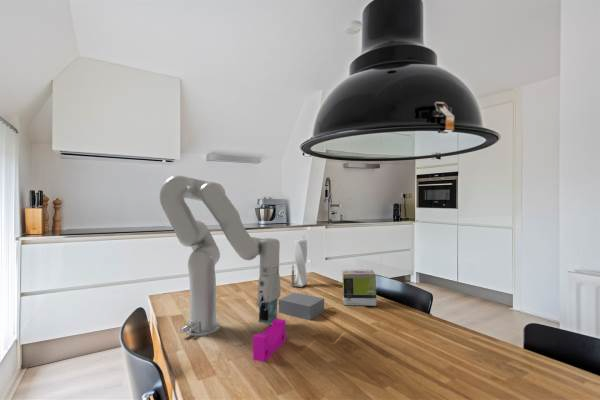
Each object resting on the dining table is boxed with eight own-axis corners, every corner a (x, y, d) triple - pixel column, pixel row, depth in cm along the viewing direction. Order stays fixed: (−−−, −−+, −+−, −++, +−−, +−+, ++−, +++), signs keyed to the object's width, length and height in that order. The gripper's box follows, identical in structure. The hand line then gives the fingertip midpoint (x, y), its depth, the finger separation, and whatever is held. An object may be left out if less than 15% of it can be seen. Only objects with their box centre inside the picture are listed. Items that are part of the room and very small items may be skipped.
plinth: (309, 321, 125) (309, 306, 125) (278, 313, 134) (278, 299, 134) (324, 312, 135) (324, 298, 135) (294, 305, 144) (294, 292, 144)
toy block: (269, 338, 110) (269, 317, 110) (285, 341, 108) (285, 320, 108) (246, 358, 96) (246, 334, 96) (263, 362, 94) (263, 338, 94)
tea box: (373, 299, 151) (373, 269, 151) (376, 306, 141) (376, 274, 141) (342, 298, 152) (342, 268, 152) (343, 305, 142) (343, 273, 142)
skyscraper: (297, 282, 184) (297, 235, 184) (309, 283, 180) (309, 235, 180) (290, 285, 176) (290, 236, 176) (303, 287, 173) (303, 237, 172)
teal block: (269, 324, 116) (270, 303, 116) (258, 321, 118) (259, 300, 118) (276, 319, 121) (277, 299, 121) (266, 317, 123) (266, 297, 123)
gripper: (265, 276, 110) (263, 327, 110) (288, 267, 125) (287, 312, 125) (248, 273, 114) (246, 323, 114) (272, 265, 129) (271, 308, 129)
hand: (268, 316), depth 120 cm, fingers closed on teal block, 5 cm apart
